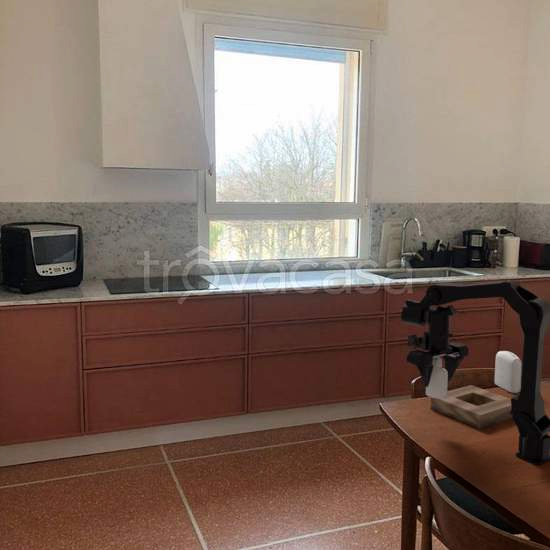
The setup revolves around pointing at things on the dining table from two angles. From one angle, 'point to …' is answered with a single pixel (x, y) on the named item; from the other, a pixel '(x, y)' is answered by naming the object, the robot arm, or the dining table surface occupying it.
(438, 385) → the eye dropper bottle
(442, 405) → the socket block
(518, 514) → the dining table surface
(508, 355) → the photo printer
